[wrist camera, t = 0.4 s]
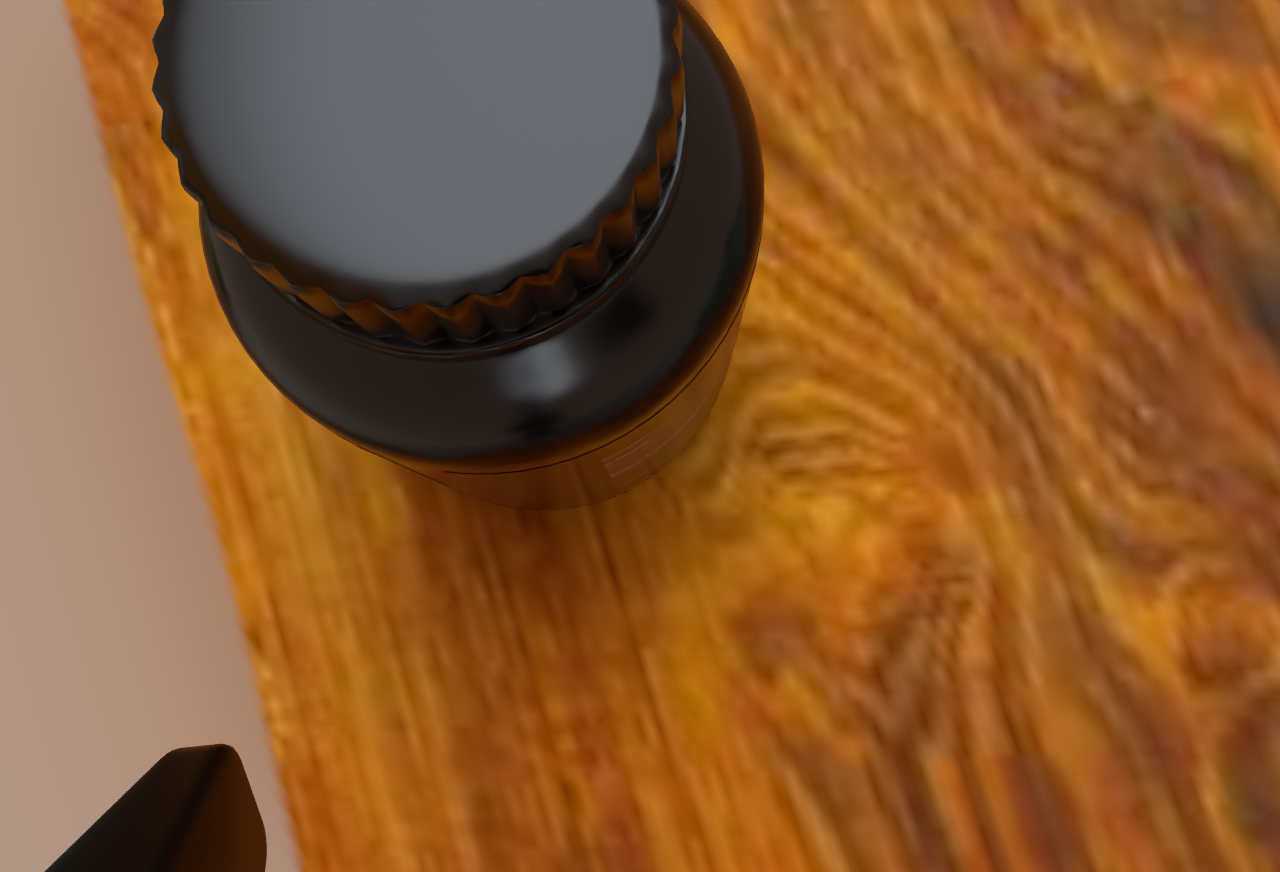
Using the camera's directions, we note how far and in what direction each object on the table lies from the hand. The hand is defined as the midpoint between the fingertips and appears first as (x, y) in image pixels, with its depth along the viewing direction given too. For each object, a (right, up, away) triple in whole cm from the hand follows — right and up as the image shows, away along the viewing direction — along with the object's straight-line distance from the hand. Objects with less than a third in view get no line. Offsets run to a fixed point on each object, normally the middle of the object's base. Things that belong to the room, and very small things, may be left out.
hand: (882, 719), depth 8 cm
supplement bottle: (-3, +4, +14) cm, 15 cm away
